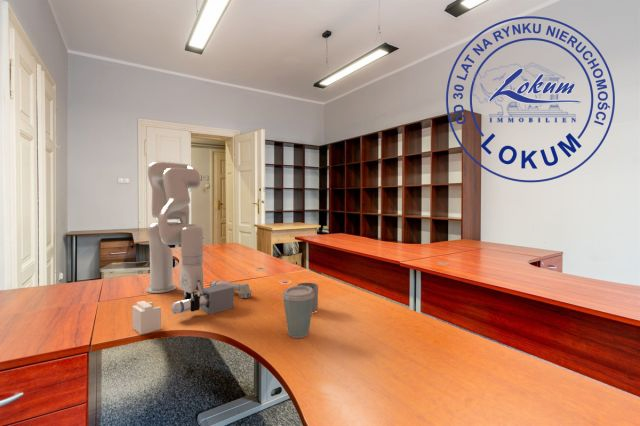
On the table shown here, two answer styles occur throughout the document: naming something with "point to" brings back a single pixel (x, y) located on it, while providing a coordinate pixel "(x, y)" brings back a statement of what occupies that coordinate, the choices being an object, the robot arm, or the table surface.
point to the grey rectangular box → (219, 298)
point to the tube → (188, 304)
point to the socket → (146, 317)
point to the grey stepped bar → (236, 288)
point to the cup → (315, 290)
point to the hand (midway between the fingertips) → (191, 308)
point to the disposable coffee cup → (298, 309)
